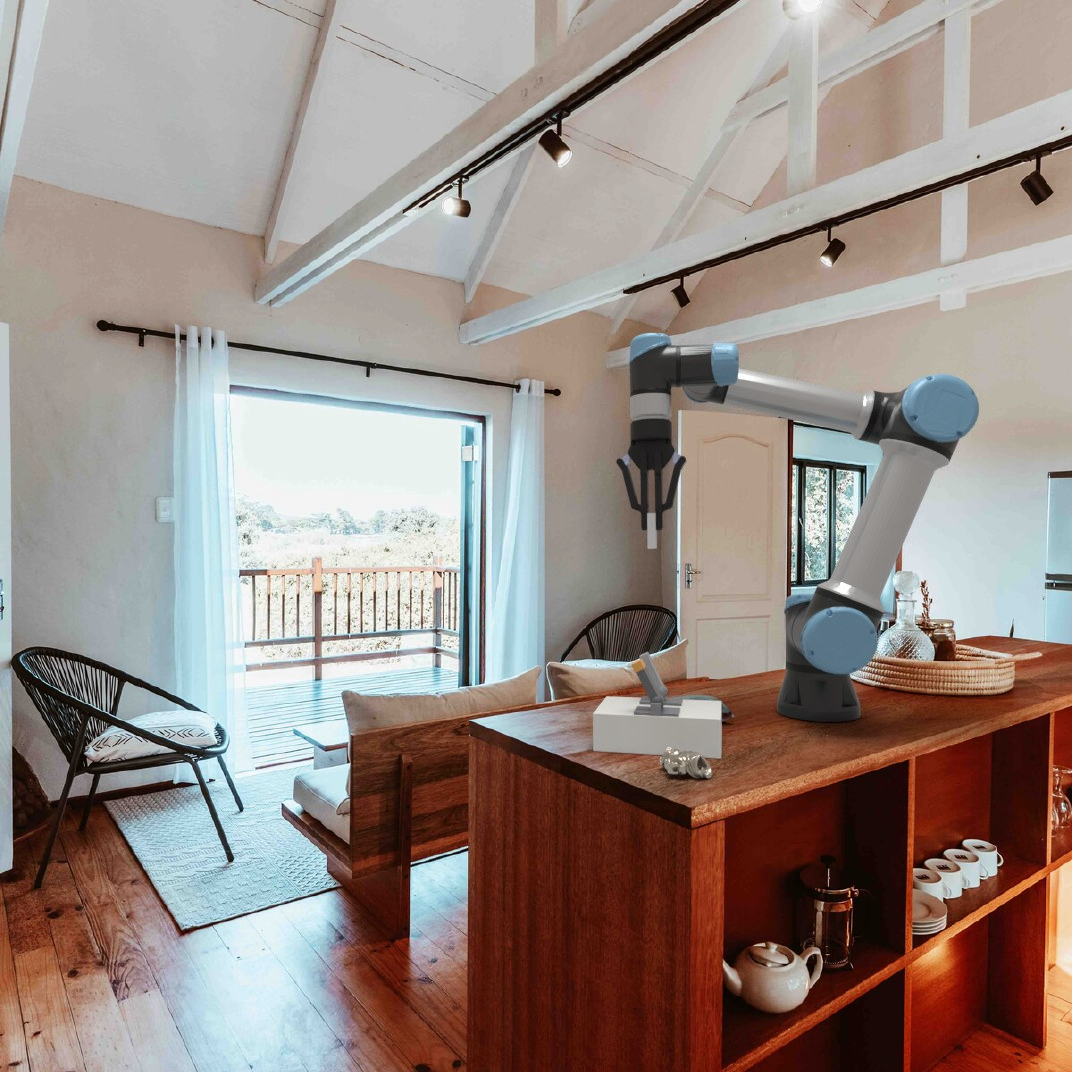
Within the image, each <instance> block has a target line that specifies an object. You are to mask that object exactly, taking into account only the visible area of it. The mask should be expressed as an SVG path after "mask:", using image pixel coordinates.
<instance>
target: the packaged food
mask: <svg viewBox="0 0 1072 1072" xmlns="http://www.w3.org/2000/svg"><path fill="white" fill-rule="evenodd" d="M674 698H683V699H684V700H708V701H721V700H720V699H719V698H717V697H715V696H711V695H706V694H705V695H704V694H687V695H681V696H674ZM721 707H722V722H723V721H727V720H729V719H730V718H735V714H733V711H731V709H730V708H729V707H728V706H726V705H725V703H723V701H721Z"/></svg>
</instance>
